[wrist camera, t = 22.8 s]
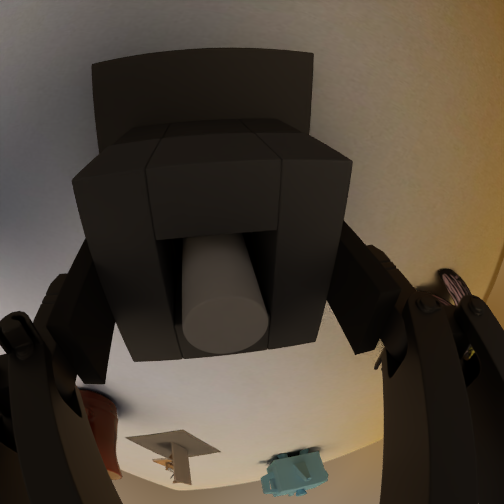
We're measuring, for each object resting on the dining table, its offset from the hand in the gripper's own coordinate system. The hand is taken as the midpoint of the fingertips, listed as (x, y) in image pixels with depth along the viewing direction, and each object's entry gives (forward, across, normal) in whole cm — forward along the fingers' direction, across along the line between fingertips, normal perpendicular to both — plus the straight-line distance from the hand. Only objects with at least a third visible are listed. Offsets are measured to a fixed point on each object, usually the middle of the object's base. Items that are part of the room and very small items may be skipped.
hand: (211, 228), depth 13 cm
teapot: (+7, +13, -66) cm, 67 cm away
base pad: (+6, 0, 0) cm, 6 cm away
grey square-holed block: (0, 0, 0) cm, 0 cm away
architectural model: (+7, -10, -46) cm, 48 cm away
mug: (+7, -17, -25) cm, 31 cm away
